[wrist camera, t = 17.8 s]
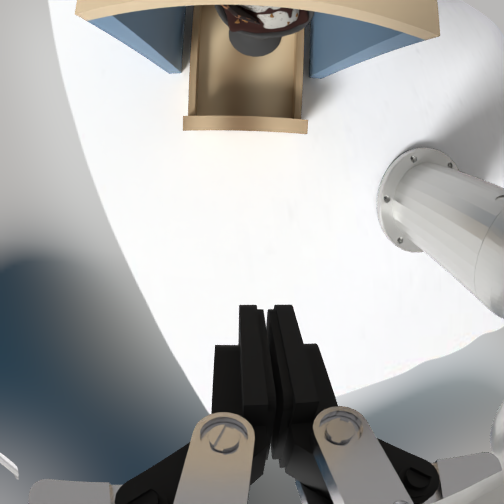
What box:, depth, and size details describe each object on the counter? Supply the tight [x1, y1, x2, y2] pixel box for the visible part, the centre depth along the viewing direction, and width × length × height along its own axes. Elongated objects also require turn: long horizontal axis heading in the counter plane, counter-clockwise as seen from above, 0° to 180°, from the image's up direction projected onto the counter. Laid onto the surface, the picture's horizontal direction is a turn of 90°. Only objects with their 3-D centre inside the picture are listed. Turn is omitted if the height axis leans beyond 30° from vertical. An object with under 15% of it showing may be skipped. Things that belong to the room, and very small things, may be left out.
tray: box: [183, 5, 308, 134], centre depth 23 cm, size 10×14×5 cm
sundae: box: [215, 5, 315, 57], centre depth 17 cm, size 7×7×15 cm
